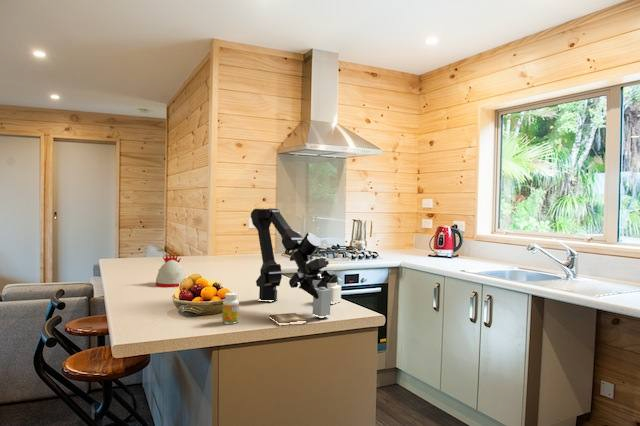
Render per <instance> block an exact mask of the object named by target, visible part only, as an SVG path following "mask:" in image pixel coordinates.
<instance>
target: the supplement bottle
mask: <svg viewBox="0 0 640 426" xmlns="http://www.w3.org/2000/svg"><path fill="white" fill-rule="evenodd" d="M224 295H225V297H224V298H225V299H224V300H223V301H222V321H221V322H222V323H223V322H225V323H234V322H239V314H240V312H239V311H240V301H239V300H238V293H236V292H227V293H225V294H224ZM225 323H224V324H225Z"/></svg>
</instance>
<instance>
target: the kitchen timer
mask: <svg viewBox="0 0 640 426" xmlns="http://www.w3.org/2000/svg"><path fill="white" fill-rule="evenodd" d="M162 258H163V261H164V263H162V265H161V267H160V268H159V269H158V273H157V275H156V279H155V286H156V287H160V288H179V287H178V286H179V283H180V282H181V281H182V280H183V279H184V278H186V279H187V277H186V272H185V270H184V268H183V266H182V265H181V264H180V262H181V257H179V259H178V255H176V256H175V253H169V256H168V253H165V257H164V256H162Z"/></svg>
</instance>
